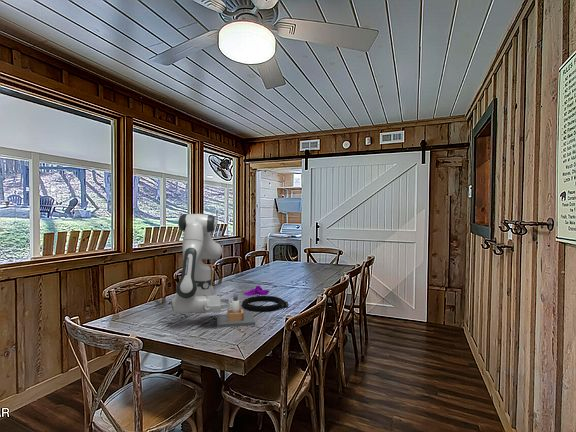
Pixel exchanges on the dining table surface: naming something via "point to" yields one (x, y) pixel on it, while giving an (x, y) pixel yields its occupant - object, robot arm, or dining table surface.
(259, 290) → the cloth
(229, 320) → the holder
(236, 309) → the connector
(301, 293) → the dining table surface
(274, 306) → the cable lock
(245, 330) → the dining table surface
